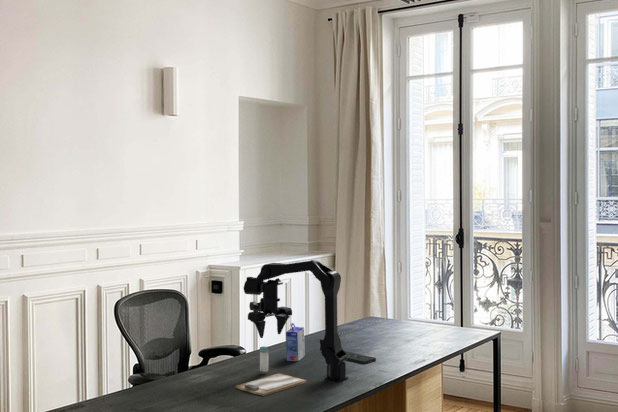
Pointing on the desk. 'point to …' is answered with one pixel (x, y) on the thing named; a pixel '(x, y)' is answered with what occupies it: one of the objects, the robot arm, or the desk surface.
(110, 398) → the desk surface
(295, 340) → the ink cartridge box
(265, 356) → the marker
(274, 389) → the clipboard
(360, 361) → the smart home device
